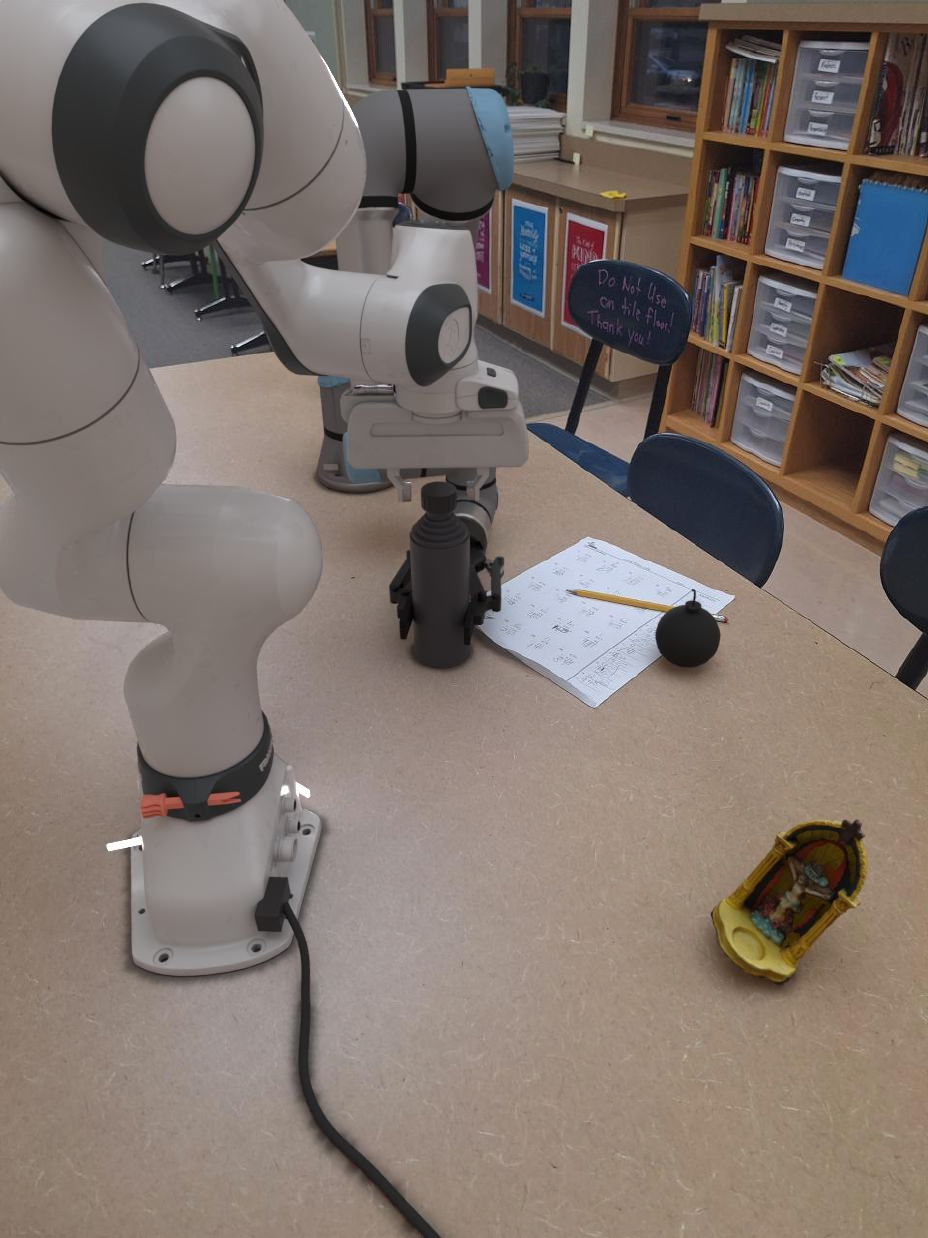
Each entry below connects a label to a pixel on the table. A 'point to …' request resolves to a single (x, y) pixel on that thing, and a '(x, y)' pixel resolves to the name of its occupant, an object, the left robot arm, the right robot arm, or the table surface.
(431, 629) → the bottle
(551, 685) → the table surface
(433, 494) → the cap
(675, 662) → the bomb
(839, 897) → the shrine
